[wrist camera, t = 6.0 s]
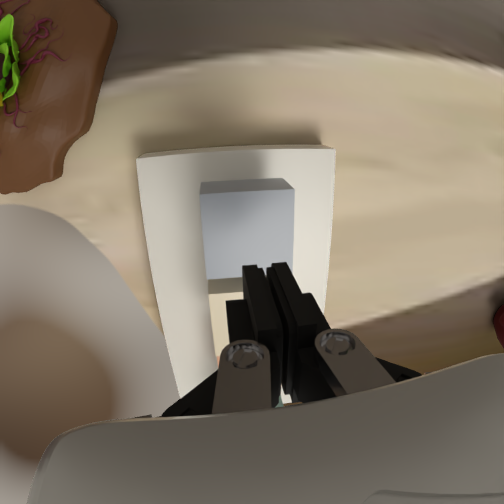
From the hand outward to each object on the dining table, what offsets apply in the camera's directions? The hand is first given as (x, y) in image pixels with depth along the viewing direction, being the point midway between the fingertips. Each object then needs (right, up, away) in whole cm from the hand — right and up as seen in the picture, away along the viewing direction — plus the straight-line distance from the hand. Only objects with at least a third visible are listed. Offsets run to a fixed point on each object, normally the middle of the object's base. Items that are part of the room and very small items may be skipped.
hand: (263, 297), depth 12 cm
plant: (-21, +17, +6) cm, 28 cm away
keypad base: (-2, -2, +17) cm, 17 cm away
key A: (-1, +5, +10) cm, 12 cm away
